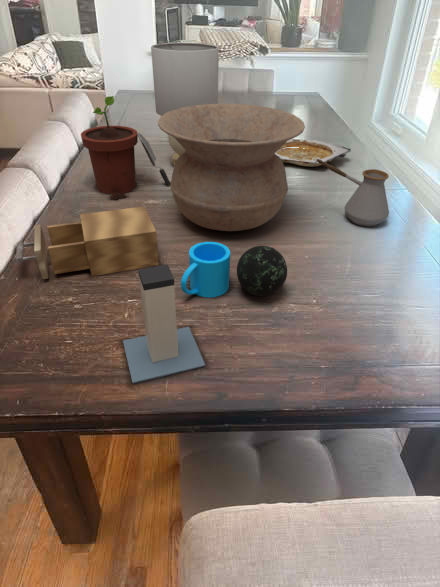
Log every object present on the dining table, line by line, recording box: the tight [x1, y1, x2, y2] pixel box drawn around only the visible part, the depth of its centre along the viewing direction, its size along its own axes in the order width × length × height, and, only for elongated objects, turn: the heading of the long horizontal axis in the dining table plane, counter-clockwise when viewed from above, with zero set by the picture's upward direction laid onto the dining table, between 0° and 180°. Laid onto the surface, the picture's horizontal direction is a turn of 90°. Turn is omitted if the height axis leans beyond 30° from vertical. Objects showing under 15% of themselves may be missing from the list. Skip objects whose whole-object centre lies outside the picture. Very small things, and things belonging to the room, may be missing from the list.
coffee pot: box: [314, 159, 390, 227], centre depth 108 cm, size 21×12×15 cm, turn 74°
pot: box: [157, 103, 306, 232], centre depth 104 cm, size 34×34×25 cm
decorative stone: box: [236, 245, 288, 297], centre depth 82 cm, size 10×10×10 cm
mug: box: [180, 241, 231, 298], centre depth 83 cm, size 12×8×8 cm
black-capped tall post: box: [137, 264, 178, 363], centre depth 65 cm, size 4×4×16 cm
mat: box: [122, 326, 206, 385], centre depth 70 cm, size 12×10×1 cm
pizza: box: [275, 138, 352, 168], centre depth 149 cm, size 32×4×23 cm
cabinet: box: [79, 205, 160, 277], centre depth 92 cm, size 15×13×9 cm
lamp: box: [150, 41, 220, 167], centre depth 133 cm, size 20×20×35 cm
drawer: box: [15, 221, 90, 280], centre depth 89 cm, size 18×11×7 cm, turn 109°
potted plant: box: [80, 95, 171, 201], centre depth 118 cm, size 18×22×25 cm
